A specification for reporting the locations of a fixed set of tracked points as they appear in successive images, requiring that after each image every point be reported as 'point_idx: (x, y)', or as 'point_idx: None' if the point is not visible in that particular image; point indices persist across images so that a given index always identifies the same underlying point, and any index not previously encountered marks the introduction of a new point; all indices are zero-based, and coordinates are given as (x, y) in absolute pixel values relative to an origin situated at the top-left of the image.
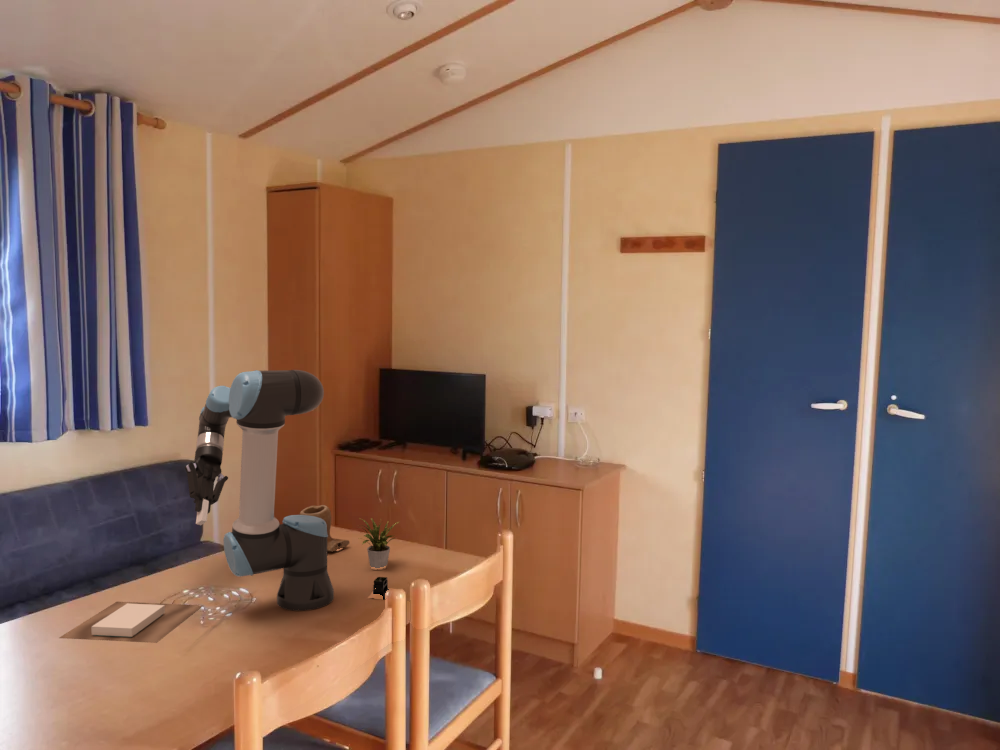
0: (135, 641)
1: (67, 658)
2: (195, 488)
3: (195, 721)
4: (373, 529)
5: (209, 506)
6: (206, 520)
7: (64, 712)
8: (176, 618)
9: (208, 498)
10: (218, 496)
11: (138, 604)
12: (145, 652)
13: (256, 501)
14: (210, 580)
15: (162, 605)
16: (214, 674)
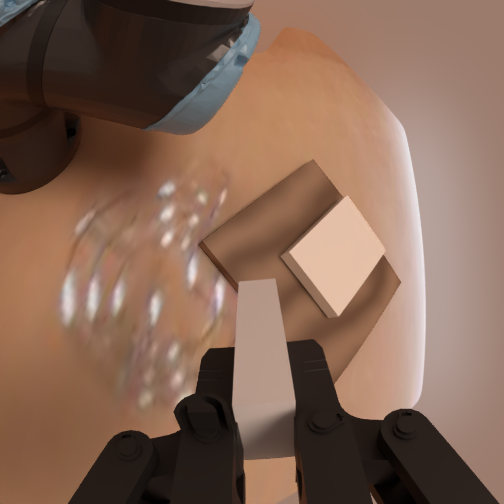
0: (334, 186)
1: (388, 230)
2: (444, 459)
3: (304, 39)
4: None
5: (208, 388)
6: (240, 285)
7: (382, 126)
8: (268, 218)
9: (233, 440)
10: (91, 487)
11: (325, 294)
12: (320, 167)
13: None
14: (109, 434)
15: (292, 253)
16: (270, 65)
